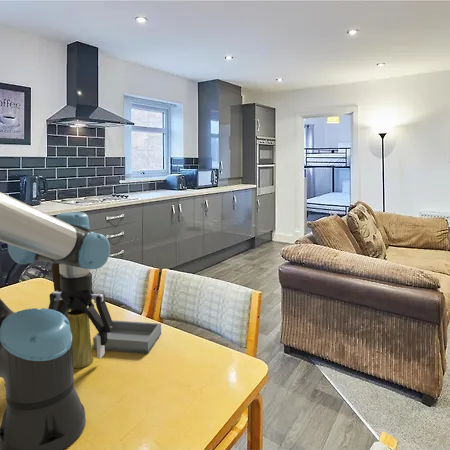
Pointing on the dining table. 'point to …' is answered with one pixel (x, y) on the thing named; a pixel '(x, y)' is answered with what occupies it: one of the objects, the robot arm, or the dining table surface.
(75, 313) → the vase
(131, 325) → the tray
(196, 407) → the dining table surface
